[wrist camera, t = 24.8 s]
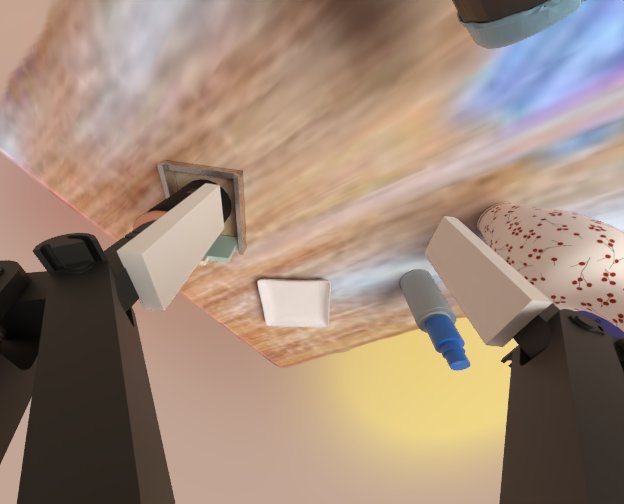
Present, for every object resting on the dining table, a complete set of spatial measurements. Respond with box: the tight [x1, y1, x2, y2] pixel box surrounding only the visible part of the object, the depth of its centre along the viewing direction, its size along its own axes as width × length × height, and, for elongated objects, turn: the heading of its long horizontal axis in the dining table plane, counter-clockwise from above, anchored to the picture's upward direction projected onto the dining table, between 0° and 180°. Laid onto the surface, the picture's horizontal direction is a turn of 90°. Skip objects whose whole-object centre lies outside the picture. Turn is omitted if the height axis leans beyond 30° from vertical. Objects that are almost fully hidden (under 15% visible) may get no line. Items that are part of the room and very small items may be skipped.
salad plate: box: [257, 279, 331, 327], centre depth 69 cm, size 21×21×3 cm
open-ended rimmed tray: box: [157, 160, 247, 255], centre depth 51 cm, size 20×16×4 cm
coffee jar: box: [133, 180, 232, 229], centre depth 44 cm, size 11×11×18 cm
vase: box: [477, 202, 624, 332], centre depth 38 cm, size 16×16×35 cm
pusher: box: [198, 235, 238, 266], centre depth 52 cm, size 1×13×11 cm, turn 83°
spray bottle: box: [400, 270, 470, 370], centre depth 54 cm, size 9×9×25 cm
